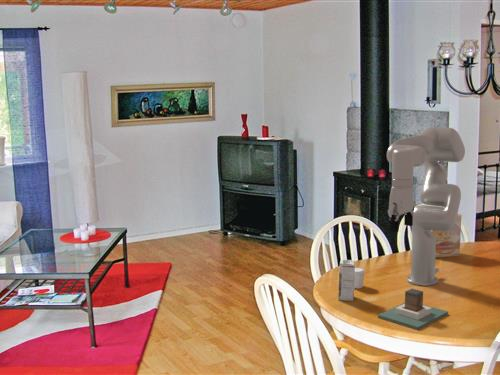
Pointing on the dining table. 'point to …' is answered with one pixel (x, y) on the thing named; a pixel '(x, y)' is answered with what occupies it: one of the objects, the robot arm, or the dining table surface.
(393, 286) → the dining table surface
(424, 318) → the socket board
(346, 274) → the syrup box
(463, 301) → the dining table surface
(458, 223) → the coffeecake box
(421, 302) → the grey metal plug
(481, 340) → the dining table surface
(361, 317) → the dining table surface
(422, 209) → the robot arm
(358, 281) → the white grey cup
